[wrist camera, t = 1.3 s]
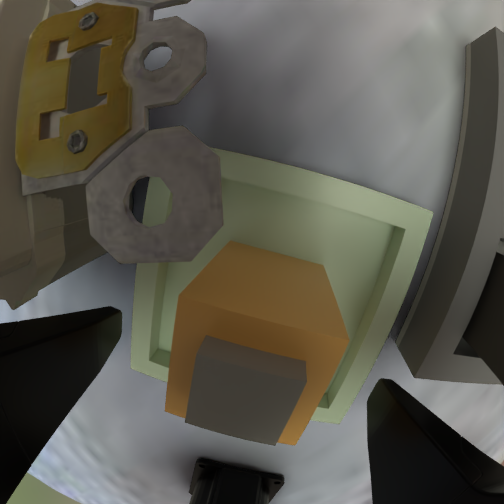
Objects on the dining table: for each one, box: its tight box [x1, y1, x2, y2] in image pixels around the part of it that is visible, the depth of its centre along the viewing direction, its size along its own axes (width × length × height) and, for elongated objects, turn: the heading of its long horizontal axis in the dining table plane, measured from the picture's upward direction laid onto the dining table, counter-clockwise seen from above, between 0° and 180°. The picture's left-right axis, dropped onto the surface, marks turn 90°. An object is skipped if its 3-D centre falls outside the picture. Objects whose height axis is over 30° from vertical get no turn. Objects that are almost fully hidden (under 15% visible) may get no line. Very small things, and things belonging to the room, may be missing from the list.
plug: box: [165, 240, 350, 446], centre depth 9 cm, size 4×4×7 cm
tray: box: [131, 147, 434, 424], centre depth 12 cm, size 11×11×2 cm
